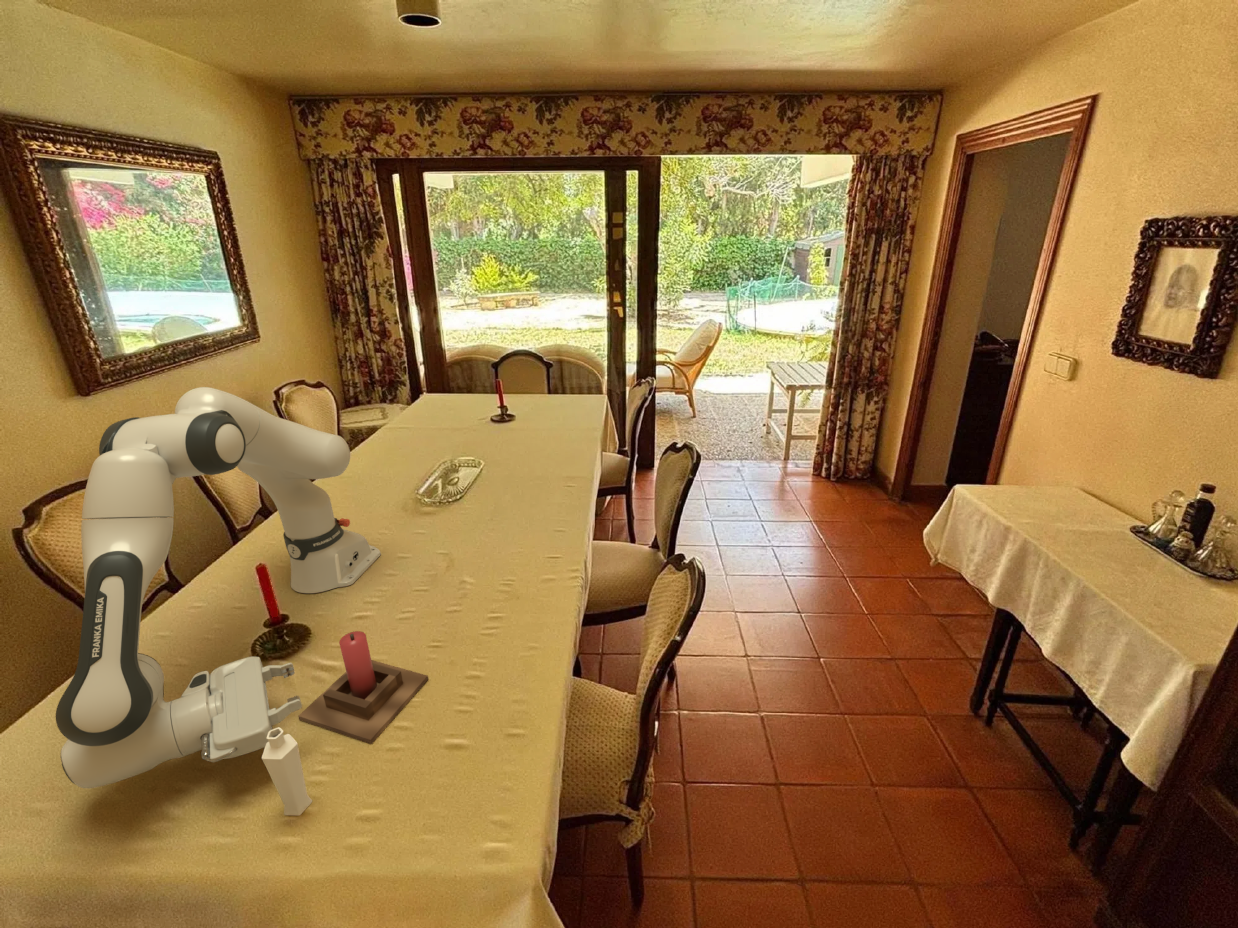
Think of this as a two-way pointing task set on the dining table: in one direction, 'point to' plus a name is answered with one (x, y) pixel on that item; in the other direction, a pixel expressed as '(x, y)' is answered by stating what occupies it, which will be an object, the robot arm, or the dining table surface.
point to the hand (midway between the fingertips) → (297, 683)
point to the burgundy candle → (358, 664)
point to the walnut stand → (364, 703)
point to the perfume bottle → (286, 771)
